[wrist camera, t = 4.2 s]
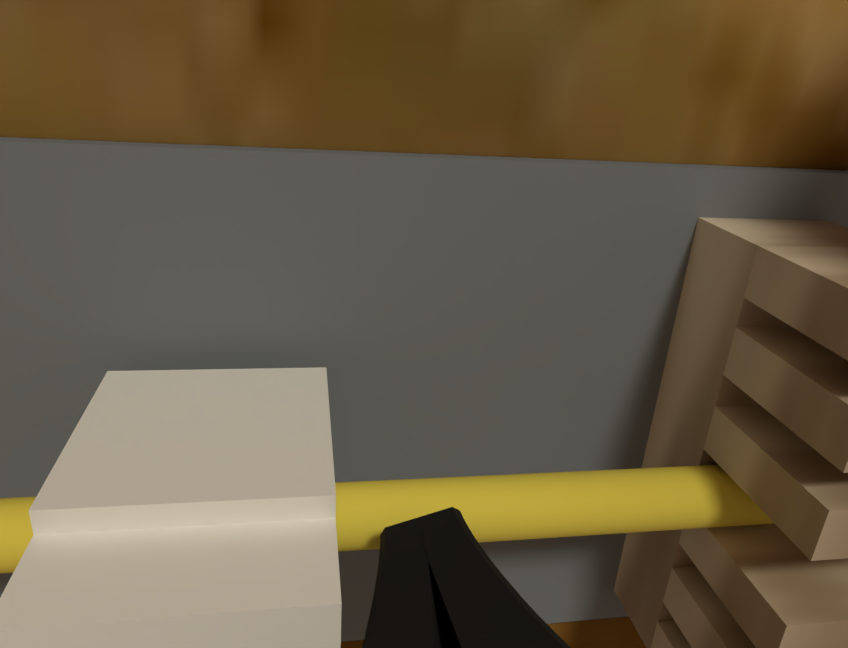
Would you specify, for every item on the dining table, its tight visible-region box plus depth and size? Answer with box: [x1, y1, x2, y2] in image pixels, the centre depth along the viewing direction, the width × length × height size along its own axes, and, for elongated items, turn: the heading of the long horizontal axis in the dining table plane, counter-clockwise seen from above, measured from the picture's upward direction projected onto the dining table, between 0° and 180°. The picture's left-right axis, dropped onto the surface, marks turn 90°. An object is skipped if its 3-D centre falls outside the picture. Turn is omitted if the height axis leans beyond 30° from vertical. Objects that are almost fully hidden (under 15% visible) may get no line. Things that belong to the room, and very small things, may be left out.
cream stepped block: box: [0, 367, 342, 648], centre depth 11 cm, size 4×4×6 cm
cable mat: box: [0, 137, 848, 642], centre depth 14 cm, size 27×12×1 cm, turn 87°
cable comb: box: [614, 217, 848, 648], centre depth 14 cm, size 3×10×5 cm, turn 177°
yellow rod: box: [0, 465, 774, 574], centre depth 12 cm, size 22×1×1 cm, turn 86°
